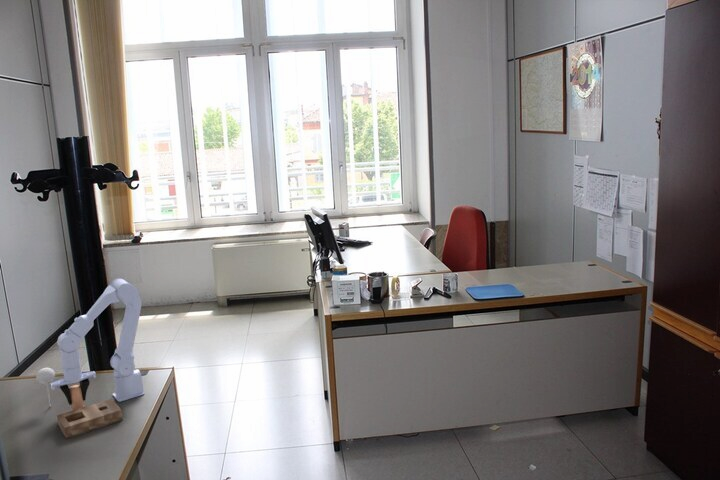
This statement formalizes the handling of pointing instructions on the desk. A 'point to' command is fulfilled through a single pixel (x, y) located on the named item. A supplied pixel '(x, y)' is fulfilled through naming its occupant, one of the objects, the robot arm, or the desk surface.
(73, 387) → the pin
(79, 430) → the socket block
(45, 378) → the lollipop
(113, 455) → the desk surface
